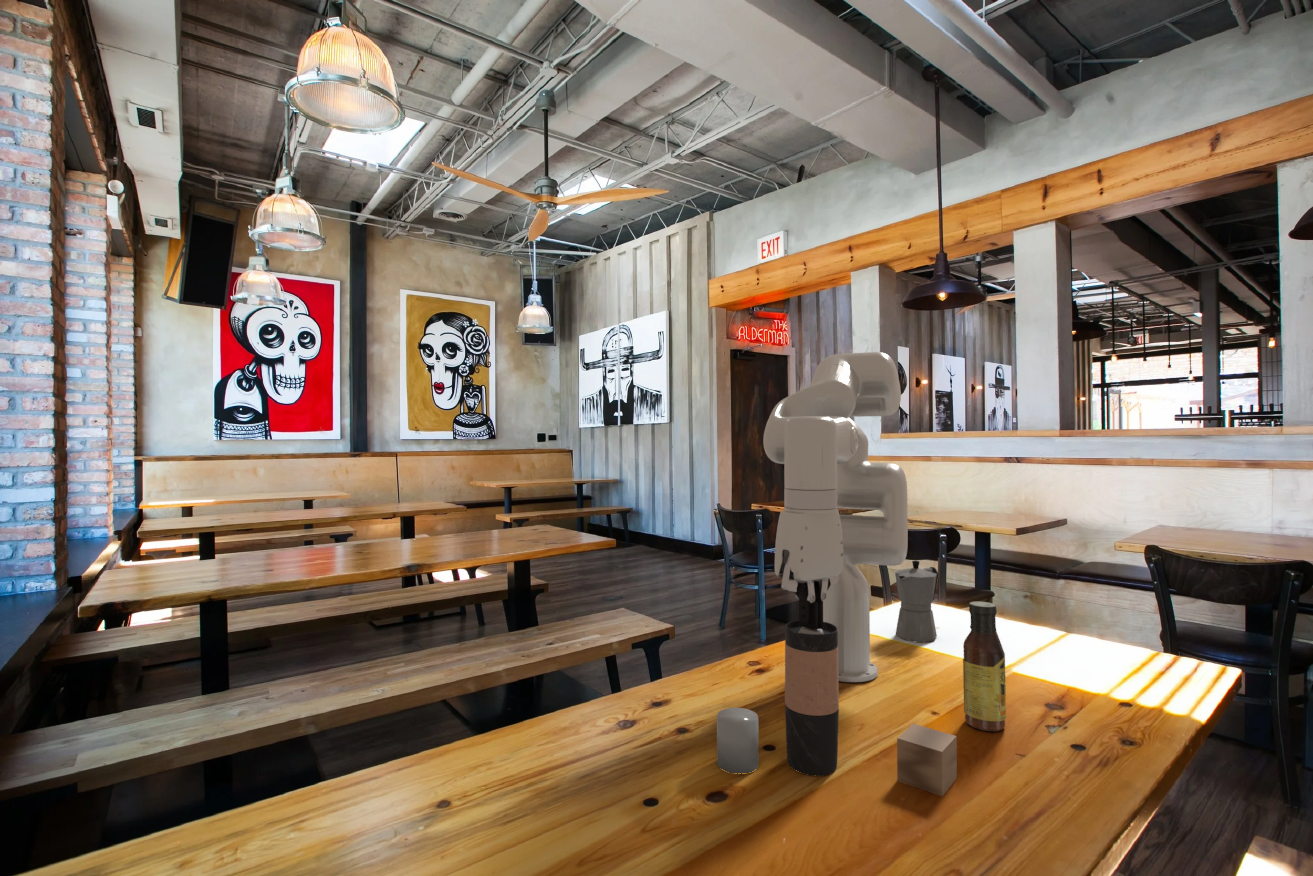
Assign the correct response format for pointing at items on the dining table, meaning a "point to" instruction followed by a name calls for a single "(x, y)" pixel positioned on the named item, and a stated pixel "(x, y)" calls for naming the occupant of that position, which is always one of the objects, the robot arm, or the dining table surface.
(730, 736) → the grey rounded cylinder
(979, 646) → the sauce bottle
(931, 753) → the grey cube
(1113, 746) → the dining table surface
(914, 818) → the dining table surface
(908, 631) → the coffeepot
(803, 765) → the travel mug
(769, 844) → the dining table surface
